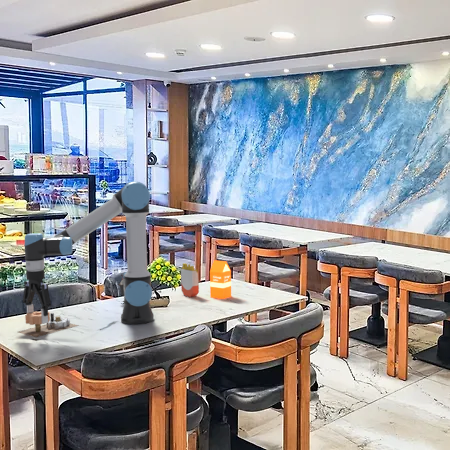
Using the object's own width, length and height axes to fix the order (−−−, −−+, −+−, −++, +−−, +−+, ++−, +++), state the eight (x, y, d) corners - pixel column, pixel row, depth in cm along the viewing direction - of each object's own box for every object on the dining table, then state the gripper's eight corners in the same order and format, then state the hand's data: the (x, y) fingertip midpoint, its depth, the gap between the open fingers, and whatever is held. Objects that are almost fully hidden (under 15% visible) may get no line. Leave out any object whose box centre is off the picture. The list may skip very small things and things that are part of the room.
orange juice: (218, 294, 322) (217, 259, 320) (231, 296, 316) (230, 260, 315) (210, 297, 315) (209, 261, 313) (223, 299, 310) (222, 262, 308)
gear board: (79, 328, 256) (78, 316, 255) (36, 340, 238) (35, 327, 238) (59, 324, 264) (59, 312, 264) (16, 335, 247) (16, 322, 246)
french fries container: (188, 293, 326) (187, 262, 324) (199, 296, 317) (198, 264, 316) (181, 294, 323) (180, 263, 321) (192, 297, 314) (191, 265, 313)
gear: (73, 323, 259) (73, 311, 258) (62, 329, 250) (61, 317, 249) (54, 322, 261) (54, 310, 261) (42, 328, 252) (42, 316, 251)
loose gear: (54, 320, 248) (53, 313, 247) (34, 325, 240) (34, 317, 240) (40, 317, 254) (40, 310, 253) (21, 322, 246) (21, 314, 246)
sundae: (119, 301, 309) (118, 273, 307) (132, 301, 309) (131, 273, 308) (118, 304, 302) (117, 276, 301) (131, 303, 303) (130, 275, 301)
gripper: (12, 268, 248) (15, 319, 251) (43, 273, 235) (46, 327, 237) (27, 266, 254) (30, 315, 256) (58, 270, 241) (61, 323, 243)
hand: (37, 321), depth 247 cm, fingers closed on loose gear, 10 cm apart
